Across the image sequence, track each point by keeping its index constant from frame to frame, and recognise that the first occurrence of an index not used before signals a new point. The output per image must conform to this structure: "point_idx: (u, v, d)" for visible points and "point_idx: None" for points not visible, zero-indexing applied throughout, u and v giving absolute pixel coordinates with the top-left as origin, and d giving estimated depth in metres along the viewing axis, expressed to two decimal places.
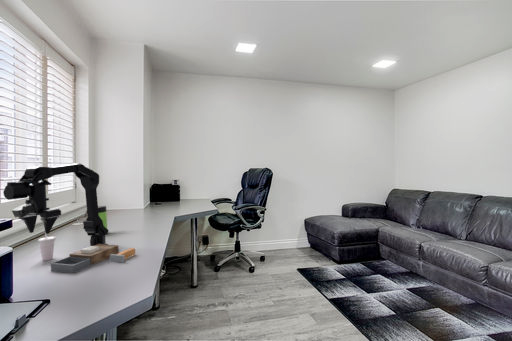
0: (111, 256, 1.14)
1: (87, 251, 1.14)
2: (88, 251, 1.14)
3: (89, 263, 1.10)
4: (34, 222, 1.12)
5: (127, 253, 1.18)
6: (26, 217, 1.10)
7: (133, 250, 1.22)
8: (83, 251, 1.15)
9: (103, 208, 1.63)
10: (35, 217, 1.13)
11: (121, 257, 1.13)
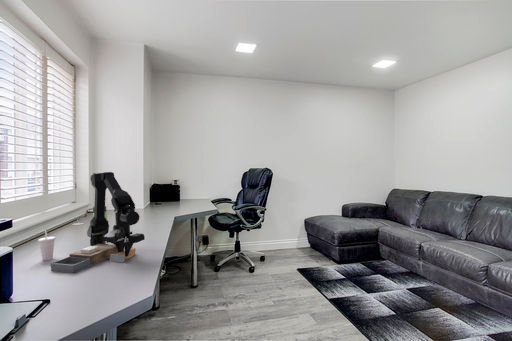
0: (111, 256, 1.14)
1: (87, 251, 1.14)
2: (88, 251, 1.14)
3: (89, 263, 1.10)
4: (123, 245, 1.20)
5: None
6: (117, 241, 1.17)
7: (133, 250, 1.22)
8: (83, 251, 1.15)
9: None
10: (123, 241, 1.20)
11: (121, 257, 1.13)
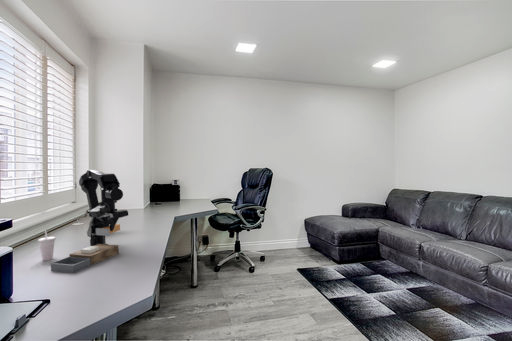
0: (97, 230, 1.24)
1: (87, 251, 1.14)
2: (88, 251, 1.14)
3: (89, 263, 1.10)
4: (108, 221, 1.29)
5: None
6: (103, 217, 1.27)
7: (118, 226, 1.31)
8: (83, 251, 1.15)
9: None
10: (109, 217, 1.30)
11: (106, 230, 1.22)
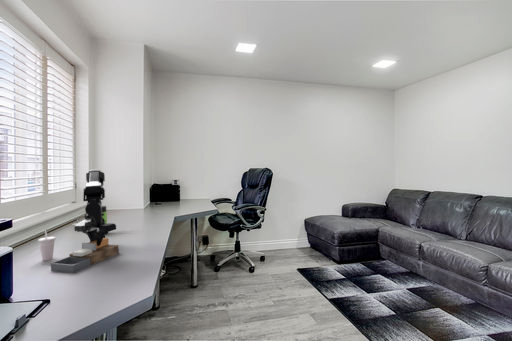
0: (83, 244, 1.17)
1: (79, 254, 1.11)
2: (80, 254, 1.11)
3: (89, 263, 1.10)
4: (95, 235, 1.22)
5: None
6: (89, 231, 1.19)
7: (106, 240, 1.24)
8: (75, 254, 1.11)
9: (103, 208, 1.63)
10: (96, 231, 1.22)
11: (92, 245, 1.15)
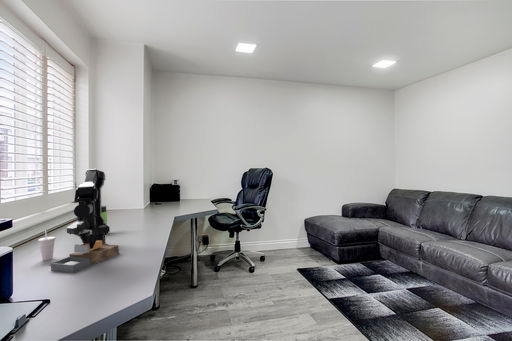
0: (76, 246, 1.13)
1: None
2: None
3: (89, 263, 1.10)
4: (89, 238, 1.18)
5: None
6: (82, 233, 1.16)
7: (100, 242, 1.21)
8: None
9: (103, 208, 1.63)
10: (89, 233, 1.19)
11: (85, 247, 1.12)
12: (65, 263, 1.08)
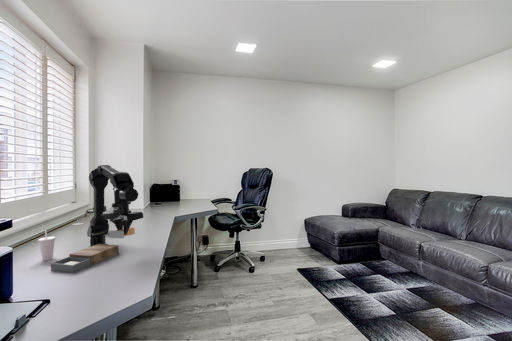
0: (110, 232, 1.14)
1: None
2: None
3: (89, 263, 1.10)
4: (122, 224, 1.19)
5: None
6: (116, 220, 1.17)
7: (132, 229, 1.22)
8: None
9: None
10: (122, 220, 1.20)
11: (120, 232, 1.13)
12: (65, 263, 1.08)
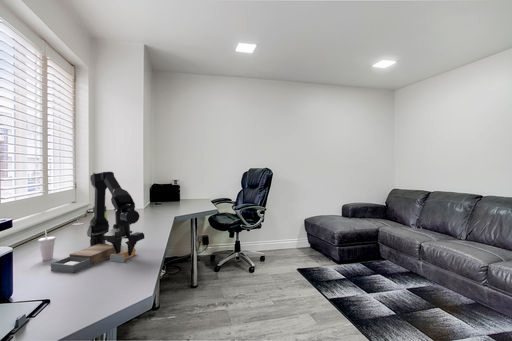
0: (111, 256, 1.15)
1: None
2: None
3: (89, 263, 1.10)
4: (120, 244, 1.20)
5: (127, 253, 1.18)
6: (114, 240, 1.18)
7: (133, 250, 1.22)
8: None
9: None
10: (120, 240, 1.21)
11: (121, 257, 1.13)
12: (65, 263, 1.08)
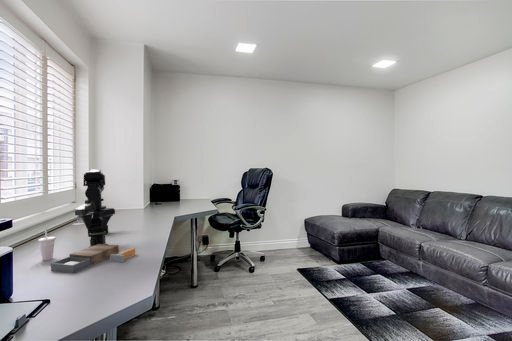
0: (111, 256, 1.15)
1: None
2: None
3: (89, 263, 1.10)
4: (90, 220, 1.27)
5: (127, 253, 1.18)
6: (84, 215, 1.25)
7: (133, 250, 1.22)
8: None
9: None
10: (90, 216, 1.28)
11: (121, 257, 1.13)
12: (65, 263, 1.08)
